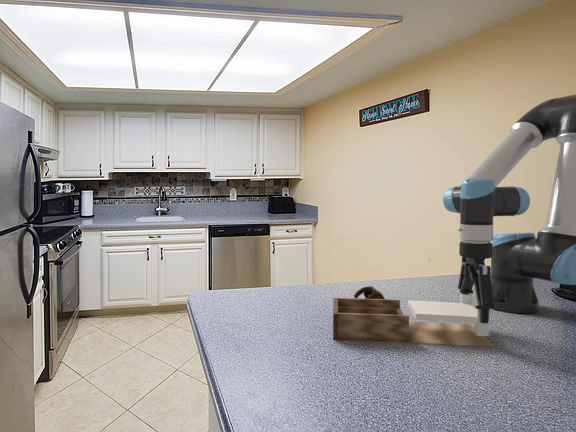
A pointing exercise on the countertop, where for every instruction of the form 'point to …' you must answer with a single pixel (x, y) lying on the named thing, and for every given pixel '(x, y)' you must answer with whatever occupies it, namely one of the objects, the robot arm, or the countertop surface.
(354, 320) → the walnut box
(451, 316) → the cover plate
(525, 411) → the countertop surface
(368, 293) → the pottery mug
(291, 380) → the countertop surface
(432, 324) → the cork mat
